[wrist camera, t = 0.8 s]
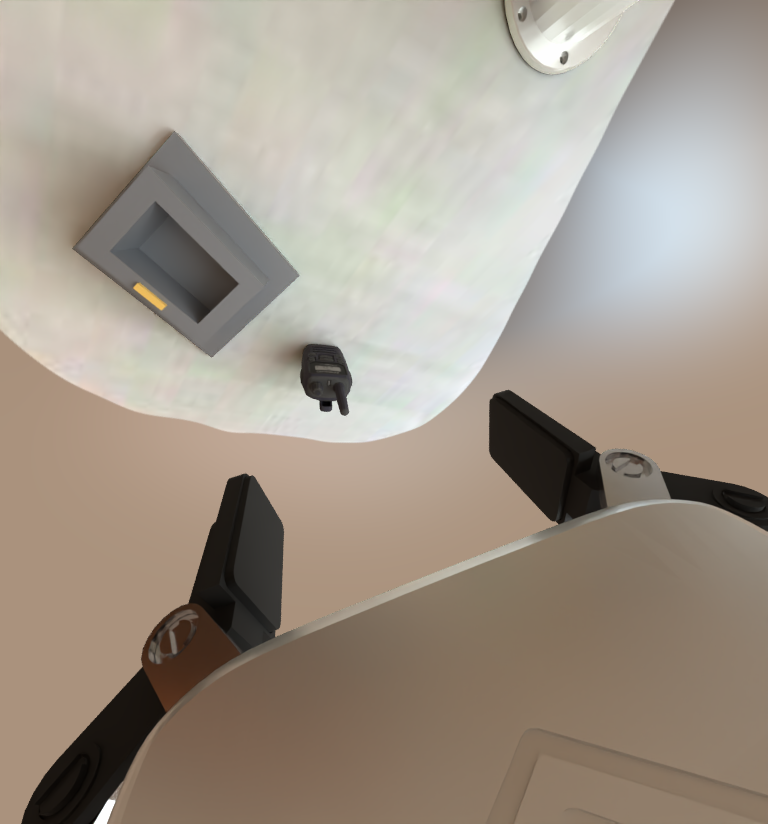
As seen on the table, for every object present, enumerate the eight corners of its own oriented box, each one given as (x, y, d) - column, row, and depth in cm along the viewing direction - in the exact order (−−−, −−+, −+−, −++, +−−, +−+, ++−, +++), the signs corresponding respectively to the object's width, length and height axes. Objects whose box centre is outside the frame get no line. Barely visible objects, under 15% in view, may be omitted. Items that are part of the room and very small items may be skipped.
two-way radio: (345, 345, 38) (365, 400, 26) (341, 376, 40) (359, 441, 28) (301, 340, 36) (300, 397, 24) (299, 373, 39) (298, 441, 26)
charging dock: (178, 134, 25) (145, 108, 20) (299, 274, 33) (298, 283, 27) (79, 248, 27) (25, 252, 22) (213, 354, 35) (197, 376, 30)
